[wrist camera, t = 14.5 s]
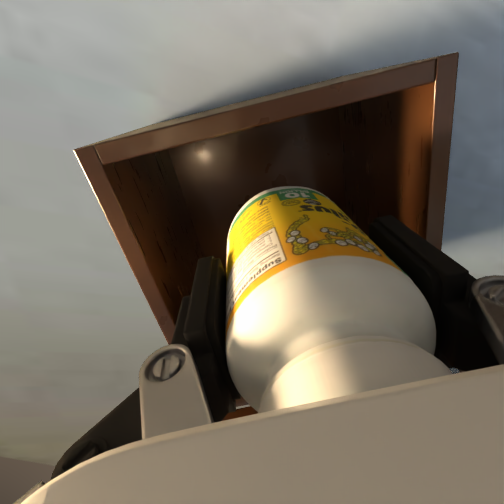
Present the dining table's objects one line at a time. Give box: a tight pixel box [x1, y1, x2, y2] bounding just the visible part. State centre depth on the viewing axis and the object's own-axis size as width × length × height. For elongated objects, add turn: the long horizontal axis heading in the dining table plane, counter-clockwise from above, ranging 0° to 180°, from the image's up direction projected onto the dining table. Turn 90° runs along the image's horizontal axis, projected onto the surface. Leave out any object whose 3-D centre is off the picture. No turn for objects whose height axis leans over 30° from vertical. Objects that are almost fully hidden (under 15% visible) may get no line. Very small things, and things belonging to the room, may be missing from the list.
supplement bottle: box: [225, 186, 452, 413], centre depth 9 cm, size 5×5×10 cm
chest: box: [74, 52, 459, 407], centre depth 20 cm, size 17×15×12 cm
